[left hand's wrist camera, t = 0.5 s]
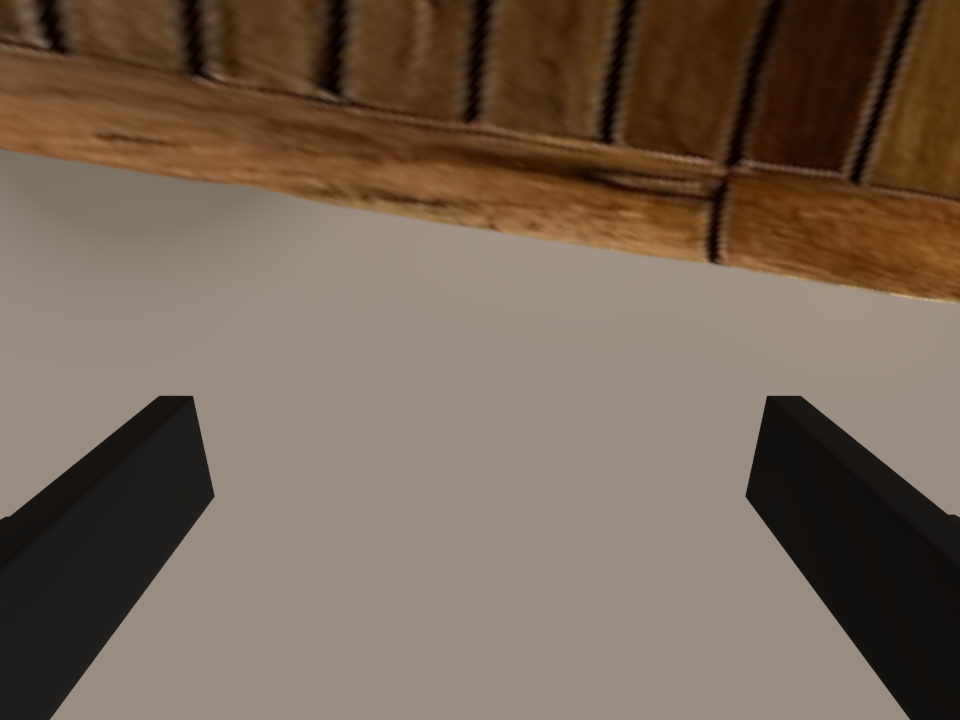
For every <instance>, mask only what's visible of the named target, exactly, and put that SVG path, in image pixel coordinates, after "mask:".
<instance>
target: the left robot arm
mask: <svg viewBox="0 0 960 720" xmlns="http://www.w3.org/2000/svg"><path fill="white" fill-rule="evenodd" d="M213 498H214V492H213V487H212V482H211V478H210V473H209V468H208V464H207V459H206V455H205V450H204V445H203V441H202V436H201V431H200V427H199V422H198V418H197V413H196V408H195V404H194V399H193V396H159V397H157V398H156V399H155V400H154V401H152V402H151V403H150V404H149V405H147V406H146V407H145V408H144V409H142V410H141V411H140V412H139V413H137V414H136V415H135V416H134V417H133V418H131V419H130V420H129V421H128V422H126V423H125V424H124V425H123V426H121V427H120V428H119V429H118V430H116V431H115V432H114V433H113V434H112V435H110V436H109V437H108V438H106V439H105V440H104V441H103V442H102V443H100V444H99V445H98V446H97V447H95V448H94V449H93V450H92V451H90V452H89V453H88V454H87V455H86V456H84V457H83V458H82V459H81V460H79V461H78V462H77V463H76V464H74V465H73V466H72V467H71V468H69V469H68V470H67V471H66V472H64V473H63V474H62V475H61V476H59V477H58V478H57V479H56V480H54V481H53V482H52V483H51V484H49V485H48V486H47V487H46V488H45V489H43V490H42V491H41V492H40V493H38V494H37V495H36V496H35V497H33V498H32V499H31V500H30V501H28V502H27V503H26V504H25V505H24V506H22V507H21V508H20V509H19V510H17V511H16V512H15V513H14V514H12V515H11V516H10V517H5V518H3V519H1V520H0V720H50V719H51V717H52V716H53V715H54V713H55V712H56V711H57V709H58V708H59V707H60V705H61V704H62V703H63V701H64V700H65V698H66V697H67V696H68V694H69V693H70V692H71V690H72V689H73V688H74V686H75V685H76V684H77V682H78V681H79V679H80V678H81V677H82V675H83V674H84V673H85V671H86V670H87V669H88V667H89V666H90V665H91V663H92V662H93V661H94V659H95V658H96V656H97V655H98V654H99V652H100V651H101V650H102V648H103V647H104V645H105V644H106V643H107V641H108V640H109V639H110V637H111V636H112V635H113V633H114V632H115V631H116V629H117V628H118V627H119V625H120V624H121V623H122V621H123V620H124V619H125V617H126V616H127V614H128V613H129V612H130V610H131V609H132V608H133V606H134V605H135V604H136V602H137V601H138V600H139V598H140V597H141V595H142V594H143V593H144V591H145V590H146V589H147V587H148V586H149V585H150V583H151V582H152V581H153V579H154V578H155V577H156V575H157V574H158V572H159V571H160V570H161V568H162V567H163V566H164V564H165V563H166V562H167V560H168V559H169V558H170V556H171V555H172V554H173V552H174V551H175V549H176V548H177V547H178V545H179V544H180V543H181V541H182V540H183V539H184V537H185V536H186V534H187V533H188V532H189V530H190V529H191V528H192V526H193V525H194V524H195V522H196V521H197V520H198V518H199V517H200V516H201V514H202V513H203V512H204V510H205V509H206V507H207V506H208V505H209V503H210V502H211V501H212V499H213ZM746 498H747V499H748V501H749V502H750V503H751V505H752V506H753V507H754V509H755V510H756V512H757V513H758V514H759V516H760V517H761V518H762V520H763V521H764V522H765V524H766V525H767V526H768V528H769V529H770V531H771V532H772V533H773V535H774V536H775V537H776V539H777V540H778V541H779V543H780V544H781V545H782V547H783V548H784V549H785V551H786V552H787V554H788V555H789V556H790V558H791V559H792V560H793V562H794V563H795V564H796V566H797V567H798V568H799V570H800V571H801V572H802V574H803V575H804V576H805V578H806V579H807V581H808V582H809V583H810V585H811V586H812V587H813V589H814V590H815V591H816V593H817V594H818V595H819V597H820V598H821V600H822V601H823V602H824V604H825V605H826V606H827V608H828V609H829V610H830V612H831V613H832V614H833V616H834V617H835V619H836V620H837V621H838V623H839V624H840V625H841V627H842V628H843V629H844V631H845V632H846V633H847V635H848V636H849V637H850V639H851V640H852V642H853V643H854V644H855V646H856V647H857V648H858V650H859V651H860V652H861V654H862V655H863V656H864V658H865V659H866V661H867V662H868V663H869V665H870V666H871V667H872V669H873V670H874V671H875V673H876V674H877V675H878V677H879V678H880V679H881V681H882V682H883V683H884V685H885V686H886V687H887V689H888V690H889V692H890V693H891V694H892V696H893V697H894V698H895V700H896V701H897V702H898V704H899V705H900V707H901V708H902V709H903V711H904V712H905V713H906V715H907V716H908V717H909V719H910V720H960V517H958V516H956V515H948V514H946V513H945V512H944V511H943V510H941V509H940V508H939V507H938V506H937V505H935V504H934V503H933V502H932V501H930V500H929V499H928V498H927V497H925V496H924V495H923V494H922V493H920V492H919V491H918V490H917V489H915V488H914V487H913V486H912V485H910V484H909V483H908V482H907V481H906V480H904V479H903V478H902V477H901V476H899V475H898V474H897V473H896V472H894V471H893V470H892V469H891V468H889V467H888V466H887V465H886V464H884V463H883V462H882V461H881V460H880V459H878V458H877V457H876V456H875V455H873V454H872V453H871V452H870V451H868V450H867V449H866V448H865V447H863V446H862V445H861V444H860V443H858V442H857V441H856V440H855V439H854V438H852V437H851V436H850V435H849V434H847V433H846V432H845V431H844V430H842V429H841V428H840V427H839V426H837V425H836V424H835V423H834V422H832V421H831V420H830V419H829V418H827V417H826V416H825V415H824V414H823V413H821V412H820V411H819V410H818V409H816V408H815V407H814V406H813V405H811V404H810V403H809V402H808V401H806V400H805V399H804V398H803V397H801V396H767V399H766V404H765V408H764V413H763V418H762V422H761V427H760V431H759V436H758V441H757V445H756V450H755V455H754V459H753V464H752V469H751V473H750V478H749V483H748V487H747V492H746Z"/></svg>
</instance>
